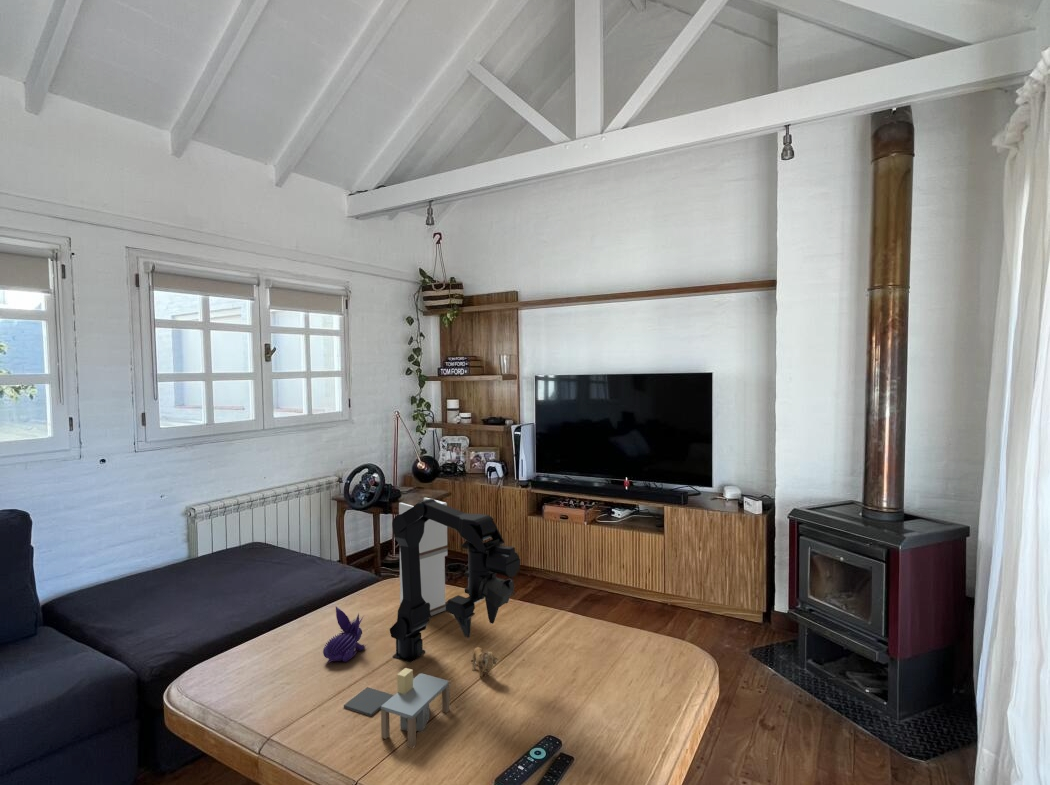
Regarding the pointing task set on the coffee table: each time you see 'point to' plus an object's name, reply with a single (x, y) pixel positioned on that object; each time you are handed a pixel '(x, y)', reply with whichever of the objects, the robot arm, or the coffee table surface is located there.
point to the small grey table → (413, 700)
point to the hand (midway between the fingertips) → (479, 630)
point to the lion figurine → (483, 661)
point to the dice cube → (417, 720)
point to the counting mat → (368, 701)
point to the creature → (344, 639)
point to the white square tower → (431, 562)
